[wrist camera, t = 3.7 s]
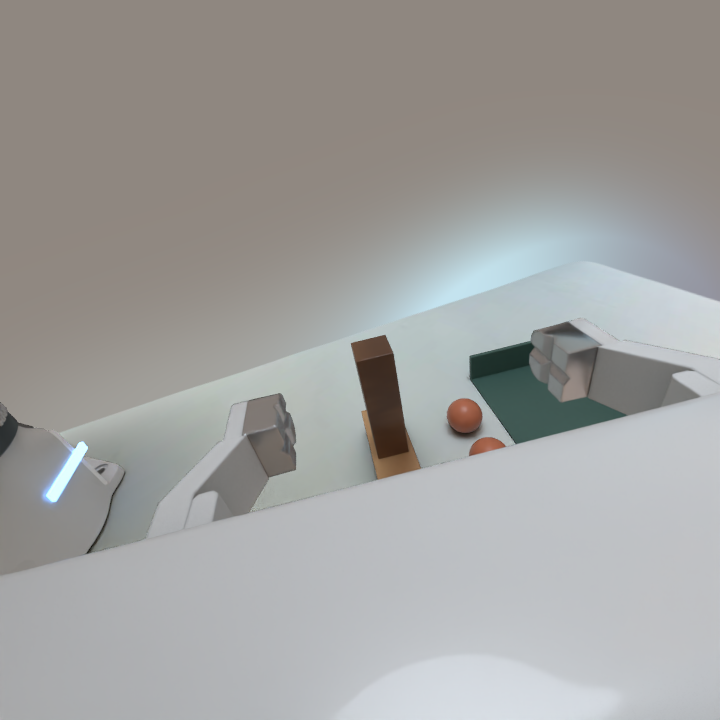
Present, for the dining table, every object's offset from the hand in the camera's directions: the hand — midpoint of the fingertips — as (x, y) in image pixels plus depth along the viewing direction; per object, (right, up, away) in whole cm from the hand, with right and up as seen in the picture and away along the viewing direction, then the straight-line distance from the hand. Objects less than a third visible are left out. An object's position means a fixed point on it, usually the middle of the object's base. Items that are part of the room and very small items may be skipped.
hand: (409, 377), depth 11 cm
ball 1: (+9, -6, +23) cm, 25 cm away
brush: (+2, -9, +21) cm, 23 cm away
